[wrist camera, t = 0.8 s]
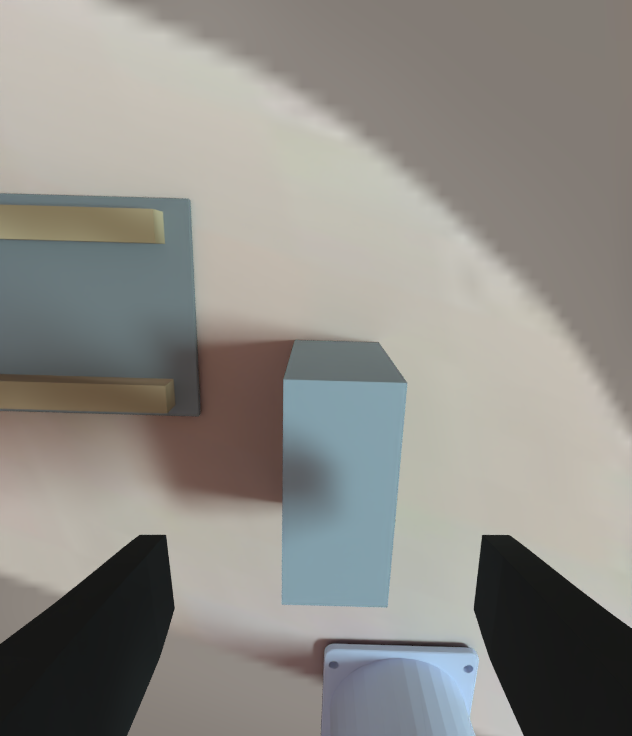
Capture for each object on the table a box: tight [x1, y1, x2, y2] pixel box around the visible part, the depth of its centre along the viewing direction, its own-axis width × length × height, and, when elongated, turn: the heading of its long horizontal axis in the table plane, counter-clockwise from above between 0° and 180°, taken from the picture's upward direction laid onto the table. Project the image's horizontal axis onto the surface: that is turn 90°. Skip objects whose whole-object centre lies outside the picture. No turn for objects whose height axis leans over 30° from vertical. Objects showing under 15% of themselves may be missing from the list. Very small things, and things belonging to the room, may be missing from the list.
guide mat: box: [0, 194, 200, 416], centre depth 17 cm, size 9×10×1 cm
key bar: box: [282, 340, 407, 607], centre depth 16 cm, size 8×4×6 cm, turn 179°
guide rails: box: [0, 205, 175, 413], centre depth 17 cm, size 8×8×1 cm
